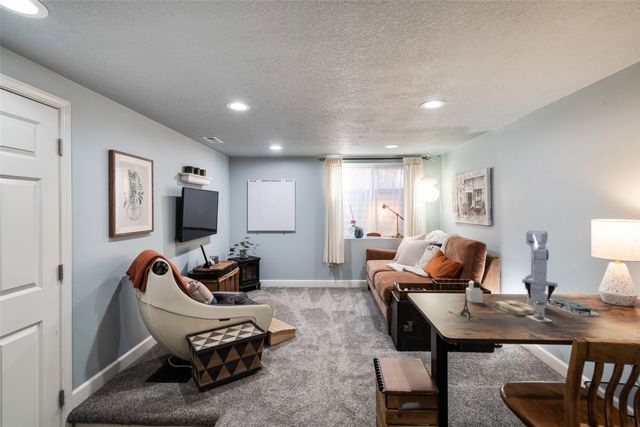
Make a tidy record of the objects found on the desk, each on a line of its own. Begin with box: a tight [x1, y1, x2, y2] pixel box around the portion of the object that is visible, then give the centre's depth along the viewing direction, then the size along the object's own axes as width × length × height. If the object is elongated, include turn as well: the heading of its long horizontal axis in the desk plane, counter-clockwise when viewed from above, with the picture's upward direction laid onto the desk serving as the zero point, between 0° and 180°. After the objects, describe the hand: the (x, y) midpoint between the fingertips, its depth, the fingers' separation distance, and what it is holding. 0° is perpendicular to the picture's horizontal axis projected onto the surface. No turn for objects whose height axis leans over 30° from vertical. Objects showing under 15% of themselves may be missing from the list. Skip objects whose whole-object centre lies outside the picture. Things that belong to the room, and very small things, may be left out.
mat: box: [524, 314, 553, 323], centre depth 154 cm, size 8×8×1 cm
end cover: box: [533, 301, 546, 320], centre depth 154 cm, size 4×4×8 cm
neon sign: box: [547, 297, 611, 317], centre depth 172 cm, size 21×4×29 cm
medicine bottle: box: [465, 280, 484, 304], centre depth 182 cm, size 7×7×12 cm
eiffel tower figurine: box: [447, 292, 472, 321], centre depth 157 cm, size 15×10×13 cm
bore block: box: [491, 299, 534, 316], centre depth 167 cm, size 16×16×2 cm
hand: (538, 299), depth 153 cm, fingers open, 7 cm apart
